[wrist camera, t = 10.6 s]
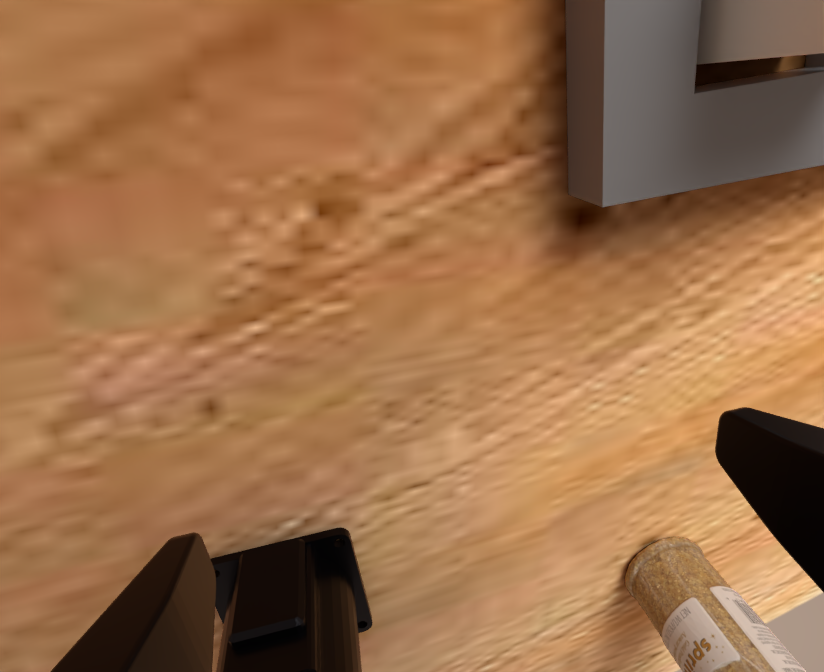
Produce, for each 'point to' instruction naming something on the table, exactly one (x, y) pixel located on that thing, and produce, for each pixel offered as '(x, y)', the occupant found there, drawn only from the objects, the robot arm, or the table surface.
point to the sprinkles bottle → (702, 613)
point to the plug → (759, 29)
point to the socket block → (675, 107)
